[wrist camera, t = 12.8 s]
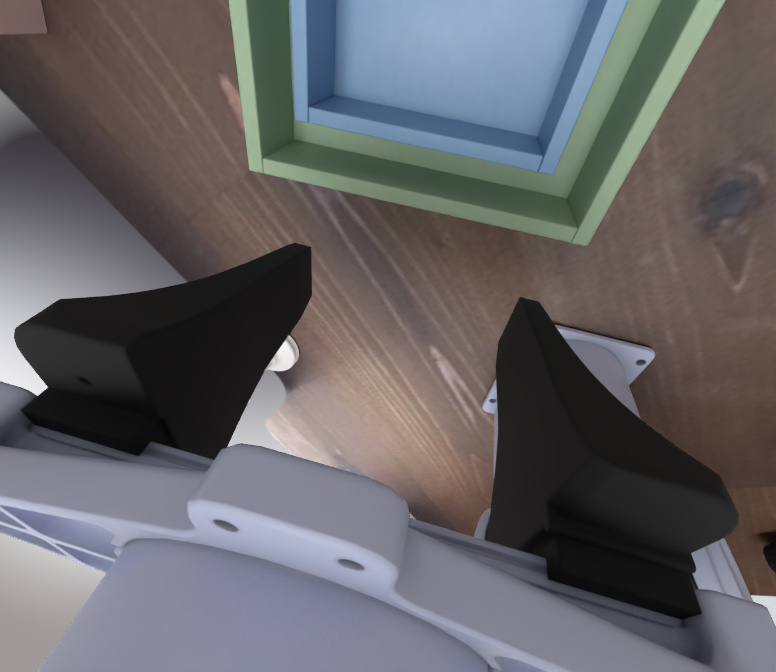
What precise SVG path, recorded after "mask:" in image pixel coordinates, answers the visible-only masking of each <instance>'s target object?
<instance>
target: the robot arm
mask: <svg viewBox="0 0 776 672" xmlns="http://www.w3.org/2000/svg"><path fill="white" fill-rule="evenodd" d="M311 296H312V275H311V247H309V246H305V245H301V244H297V243H293V244H290V245H287V246H285V247H282V248H280V249H278V250H275V251H273V252H271V253H268V254H266V255H264V256H261V257H259V258H257V259H255V260H252V261H250V262H248V263H245V264H242V265H240V266H237V267H234V268H232V269H229V270H227V271H224V272H221V273H218V274H215V275H212V276H209V277H206V278H202V279H199V280H195V281H192V282H188V283H184V284H179V285H174V286H169V287H165V288H160V289H155V290H149V291H143V292H136V293H129V294H121V295H112V296H101V297H86V298H72V299H60V300H58V301H56V302H55V303H53V304H52V305H50V306H49V307H47V308H46V309H44V310H43V311H41V312H40V313H38V314H37V315H35V316H33V317H32V318H30V319H29V320H27V321H26V322H24V323H22V324H21V325H19V326H18V327H17V328H16V329H15V333H14V339H15V342H16V345H17V347H18V349H19V350H20V352H21V353H22V355H23V356H24V358H25V359H26V360H27V361H28V363H29V364H30V365H31V366H32V368H33V369H34V370H35V371H36V373H37V374H38V375H39V376H40V378H41V379H42V380H43V381H44V382H45V384H46V385H47V386H48V388H47V389H46V390H45V391H43V392H42V393H41V394H40V395H39V396H36V395H35V394H33V393H32V392H30V391H28V390H26V389H23V388H21V387H17V386H14V385H10V384H7V383H4V382H0V533H2V534H5V535H8V536H10V537H13V538H16V539H18V540H21V541H24V542H27V543H29V544H31V545H34V546H37V547H40V548H42V549H45V550H48V551H50V552H53V553H55V554H58V555H60V556H63V557H66V558H68V559H71V560H73V561H76V562H79V563H81V564H84V565H86V566H89V567H92V568H95V569H97V570H100V571H102V572H104V573H106V575H105V576H104V578H103V579H102V580H101V582H100V583H99V585H98V586H97V587H96V589H95V590H94V592H93V593H92V594H91V596H90V598H89V599H88V600H87V602H86V603H85V604H84V606H83V607H82V609H81V610H80V611H79V613H78V614H77V616H76V617H75V618H74V620H73V621H72V623H71V624H70V626H69V627H68V628H67V630H66V631H65V633H64V634H63V635H62V637H61V638H60V640H59V641H58V642H57V644H56V645H55V647H54V648H53V650H52V651H51V652H50V654H49V655H48V657H47V658H46V660H45V661H44V662H43V664H42V665H41V666H40V668H39V669H38V671H37V672H776V626H775V624H774V622H773V620H772V618H771V615H770V613H769V611H768V609H767V608H766V607H764V606H763V605H761V604H758V603H755V602H753V600H752V598H751V595H750V593H749V591H748V589H747V586H746V584H745V582H744V580H743V578H742V575H741V573H740V571H739V569H738V567H737V564H736V562H735V560H734V558H733V556H732V554H731V551H730V549H729V547H728V545H727V543H726V541H725V539H724V537H726V536H727V535H729V534H731V533H732V531H733V530H734V529H735V527H736V526H737V525H738V523H739V514H738V512H737V510H736V508H735V506H734V504H733V502H732V500H731V498H730V496H729V494H728V491H727V489H726V487H725V485H724V483H723V481H722V479H721V477H720V475H718V474H717V473H715V472H714V471H712V470H711V469H709V468H708V467H706V466H705V465H703V464H702V463H700V462H699V461H697V460H696V459H694V458H693V457H691V456H690V455H688V454H687V453H685V452H684V451H682V450H681V449H679V448H678V447H676V446H675V445H674V444H672V443H671V442H670V441H668V440H667V439H666V438H664V437H663V436H662V435H660V434H659V433H658V432H656V431H655V430H654V429H652V428H651V427H650V426H649V425H647V424H646V423H645V422H644V421H642V420H641V418H640V415H639V412H638V409H637V407H636V404H635V401H634V398H633V395H632V393H631V390H630V387H629V385H630V384H631V383H632V382H633V381H634V380H635V379H636V377H637V376H638V375H639V374H640V373H641V372H642V371H643V370H644V369H645V368H646V367H647V365H648V364H649V363H650V362H651V361H652V360H653V359H654V357H655V353H654V351H653V349H651V348H649V347H645V346H641V345H637V344H633V343H629V342H625V341H620V340H616V339H612V338H608V337H604V336H600V335H596V334H592V333H588V332H584V331H580V330H576V329H571V328H567V327H563V326H559V325H555V324H554V323H553V322H552V320H551V319H550V317H549V316H548V314H547V313H546V311H545V310H544V309H543V307H542V306H541V304H540V303H539V302H538V301H534V300H529V299H525V298H521V297H520V298H519V300H518V302H517V304H516V306H515V308H514V310H513V313H512V315H511V317H510V319H509V321H508V323H507V325H506V327H505V330H504V332H503V334H502V336H501V338H500V340H499V343H498V351H497V360H496V379H495V381H494V383H493V385H492V387H491V389H490V390H489V392H488V394H487V396H486V398H485V400H484V402H483V405H482V408H483V410H484V411H486V412H489V413H492V414H494V485H493V494H492V503H491V508H489V509H487V510H486V511H485V512H484V513H483V514H482V516H481V517H480V519H479V522H478V524H477V528H476V531H475V534H474V537H472V536H469V535H465V534H462V533H459V532H455V531H452V530H448V529H445V528H442V527H438V526H435V525H432V524H428V523H425V522H421V521H418V520H415V519H411V518H409V517H410V515H409V510H408V504H407V503H406V501H405V500H404V499H403V498H402V497H401V496H400V495H399V494H398V493H397V492H395V491H394V490H393V489H392V488H391V487H389V486H387V485H385V484H382V483H380V482H378V481H375V480H373V479H371V478H368V477H365V476H362V475H358V474H355V473H351V472H348V471H344V470H341V469H338V468H334V467H331V466H327V465H324V464H320V463H317V462H313V461H310V460H307V459H303V458H300V457H296V456H293V455H289V454H286V453H282V452H279V451H276V450H272V449H269V448H265V447H262V446H255V445H248V444H242V443H241V444H236V445H233V446H230V447H227V446H228V444H229V441H230V439H231V437H232V435H233V433H234V431H235V429H236V426H237V424H238V422H239V420H240V418H241V415H242V413H243V411H244V410H245V408H246V406H247V404H248V402H249V400H250V398H251V395H252V394H253V392H254V390H255V388H256V386H257V384H258V382H259V380H260V379H261V377H262V375H263V373H264V371H265V369H266V368H267V366H268V365H269V363H270V362H271V360H272V359H273V357H274V356H275V354H276V353H277V351H278V350H279V349H280V347H281V346H282V344H283V343H284V341H285V340H286V339H287V337H288V336H289V334H290V333H291V331H292V330H293V328H294V327H295V325H296V324H297V323H298V321H299V320H300V318H301V316H302V314H303V312H304V310H305V308H306V306H307V304H308V302H309V300H310V298H311ZM641 359H642V361H638V360H641Z"/></svg>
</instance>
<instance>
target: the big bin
mask: <svg viewBox="0 0 776 672" xmlns="http://www.w3.org/2000/svg"><path fill="white" fill-rule="evenodd" d="M724 2H725V0H628V3H627V5H626V7H625V10H624V12H623V14H622V17H621V19H620V21H619V24H618V26H617V28H616V31H615V33H614V35H613V38H612V40H611V42H610V45H609V47H608V49H607V52H606V54H605V56H604V59H603V61H602V63H601V66H600V68H599V70H598V73H597V75H596V77H595V80H594V82H593V84H592V86H591V89H590V91H589V93H588V96H587V98H586V100H585V103H584V105H583V107H582V110H581V112H580V114H579V117H578V119H577V121H576V124H575V126H574V128H573V131H572V133H571V135H570V138H569V140H568V142H567V145H566V147H565V149H564V152H563V154H562V156H561V159H560V161H559V163H558V166H557V168H556V170H555V173H554V175H548V174H543V173H539V172H538V171H537V172H535V171H530V170H525V169H521V168H516V167H511V166H507V165H502V164H497V163H492V162H488V161H483V160H478V159H474V158H469V157H464V156H460V155H455V154H450V153H445V152H441V151H436V150H431V149H427V148H422V147H417V146H413V145H408V144H403V143H398V142H394V141H389V140H384V139H380V138H375V137H370V136H366V135H361V134H356V133H352V132H347V131H342V130H337V129H333V128H328V127H323V126H319V125H314V124H310V123H305V122H300V121H296V120H295V111H294V85H293V58H292V32H291V5H290V0H229V8H230V16H231V24H232V32H233V41H234V49H235V57H236V65H237V73H238V81H239V89H240V97H241V105H242V113H243V121H244V130H245V138H246V146H247V154H248V162H249V169H250V170H251V171H255V172H259V173H265V174H268V175H273V176H277V177H282V178H286V179H290V180H295V181H299V182H304V183H308V184H313V185H317V186H321V187H326V188H330V189H335V190H339V191H343V192H348V193H352V194H357V195H361V196H366V197H370V198H374V199H379V200H383V201H388V202H392V203H397V204H401V205H405V206H410V207H414V208H419V209H423V210H428V211H432V212H436V213H441V214H445V215H450V216H454V217H459V218H463V219H467V220H472V221H476V222H481V223H485V224H490V225H494V226H498V227H503V228H507V229H512V230H516V231H521V232H525V233H529V234H534V235H538V236H543V237H547V238H552V239H556V240H560V241H565V242H572V243H574V244H578V245H583V246H587V245H588V244H589V242H590V240H591V239H592V237H593V235H594V233H595V231H596V230H597V228H598V226H599V224H600V223H601V221H602V219H603V217H604V215H605V214H606V212H607V210H608V208H609V207H610V205H611V203H612V201H613V199H614V198H615V196H616V194H617V192H618V191H619V189H620V187H621V185H622V183H623V182H624V180H625V178H626V176H627V175H628V173H629V171H630V169H631V168H632V166H633V164H634V162H635V160H636V159H637V157H638V155H639V153H640V152H641V150H642V148H643V146H644V144H645V143H646V141H647V139H648V137H649V136H650V134H651V132H652V130H653V128H654V127H655V125H656V123H657V121H658V120H659V118H660V116H661V114H662V112H663V111H664V109H665V107H666V105H667V104H668V102H669V100H670V98H671V96H672V95H673V93H674V91H675V89H676V88H677V86H678V84H679V82H680V80H681V79H682V77H683V75H684V73H685V72H686V70H687V68H688V66H689V64H690V63H691V61H692V59H693V57H694V56H695V54H696V52H697V50H698V48H699V47H700V45H701V43H702V41H703V40H704V38H705V36H706V34H707V32H708V31H709V29H710V27H711V25H712V24H713V22H714V20H715V18H716V16H717V15H718V13H719V11H720V9H721V8H722V6H723V4H724Z"/></svg>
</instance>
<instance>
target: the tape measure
mask: <svg viewBox="0 0 776 672" xmlns="http://www.w3.org/2000/svg"><path fill="white" fill-rule="evenodd" d="M763 553H764V556H765V559H766V561H767V563H768V564H769V566H770V568H771V569H772V570H773V571H774V572H775V573H776V542H774V543H771V544H769V545H767V546H765V547H764V549H763Z"/></svg>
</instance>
